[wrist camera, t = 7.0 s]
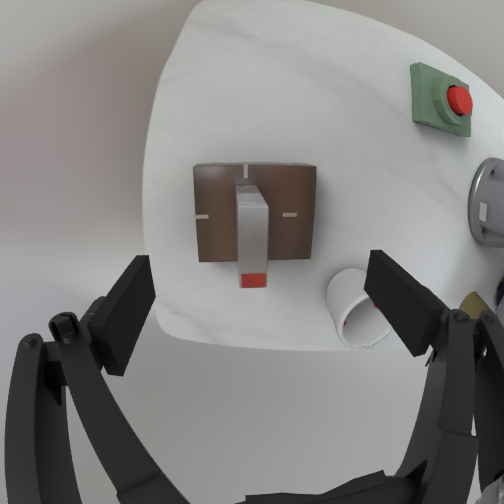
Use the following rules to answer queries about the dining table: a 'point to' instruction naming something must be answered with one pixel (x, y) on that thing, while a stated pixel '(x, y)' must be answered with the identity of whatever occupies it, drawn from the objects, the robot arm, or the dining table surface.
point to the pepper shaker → (474, 305)
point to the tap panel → (274, 193)
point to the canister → (500, 293)
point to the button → (459, 100)
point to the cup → (355, 310)
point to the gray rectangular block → (251, 236)
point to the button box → (436, 100)
